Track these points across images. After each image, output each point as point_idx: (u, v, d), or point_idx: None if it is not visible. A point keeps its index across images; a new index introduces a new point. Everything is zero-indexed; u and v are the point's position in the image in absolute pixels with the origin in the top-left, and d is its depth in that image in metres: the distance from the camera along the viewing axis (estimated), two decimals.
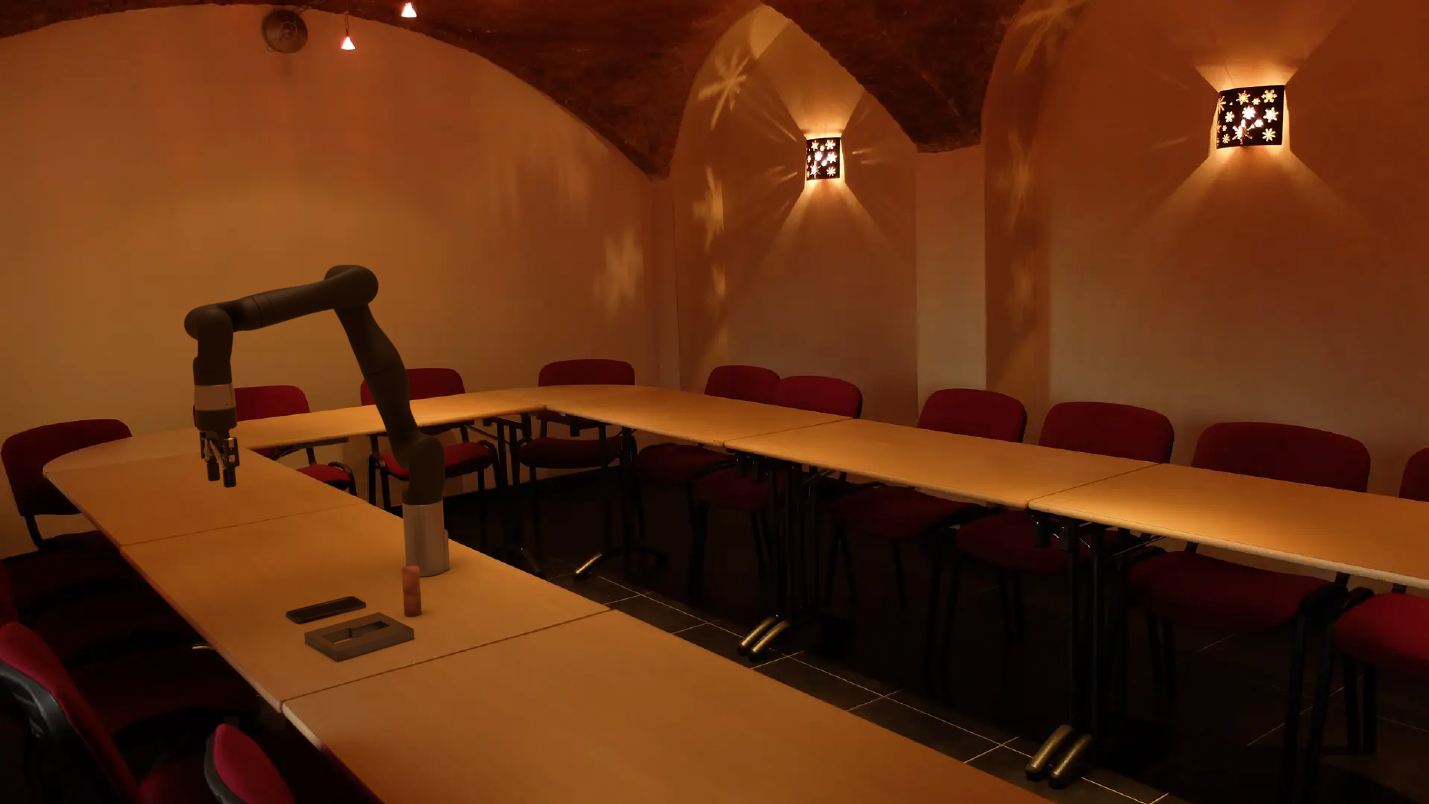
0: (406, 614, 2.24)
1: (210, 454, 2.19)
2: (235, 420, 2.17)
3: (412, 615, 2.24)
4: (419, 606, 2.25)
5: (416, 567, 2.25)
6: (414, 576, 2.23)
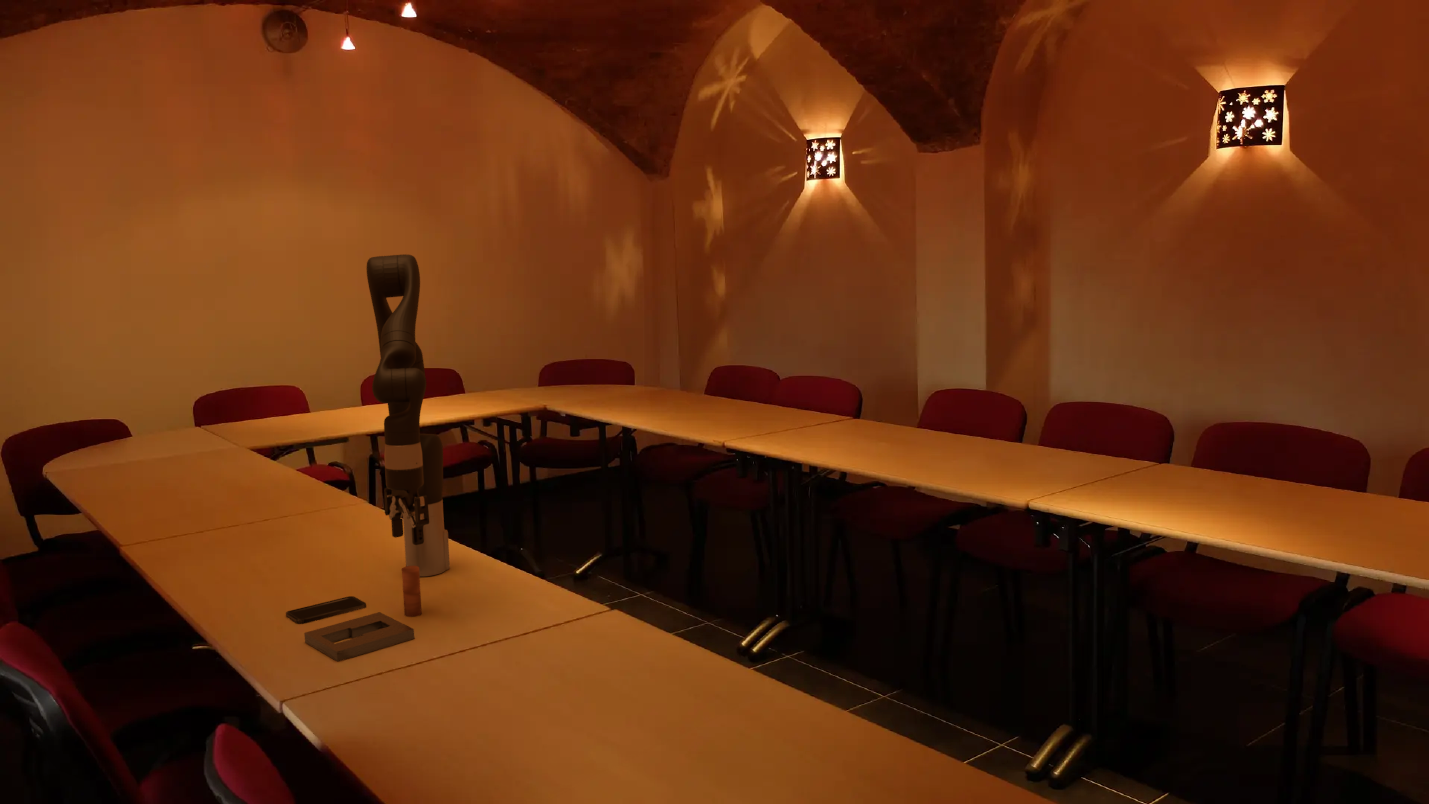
0: (406, 614, 2.24)
1: (396, 511, 2.24)
2: (422, 478, 2.22)
3: (412, 615, 2.24)
4: (419, 606, 2.25)
5: (416, 567, 2.25)
6: (414, 576, 2.23)
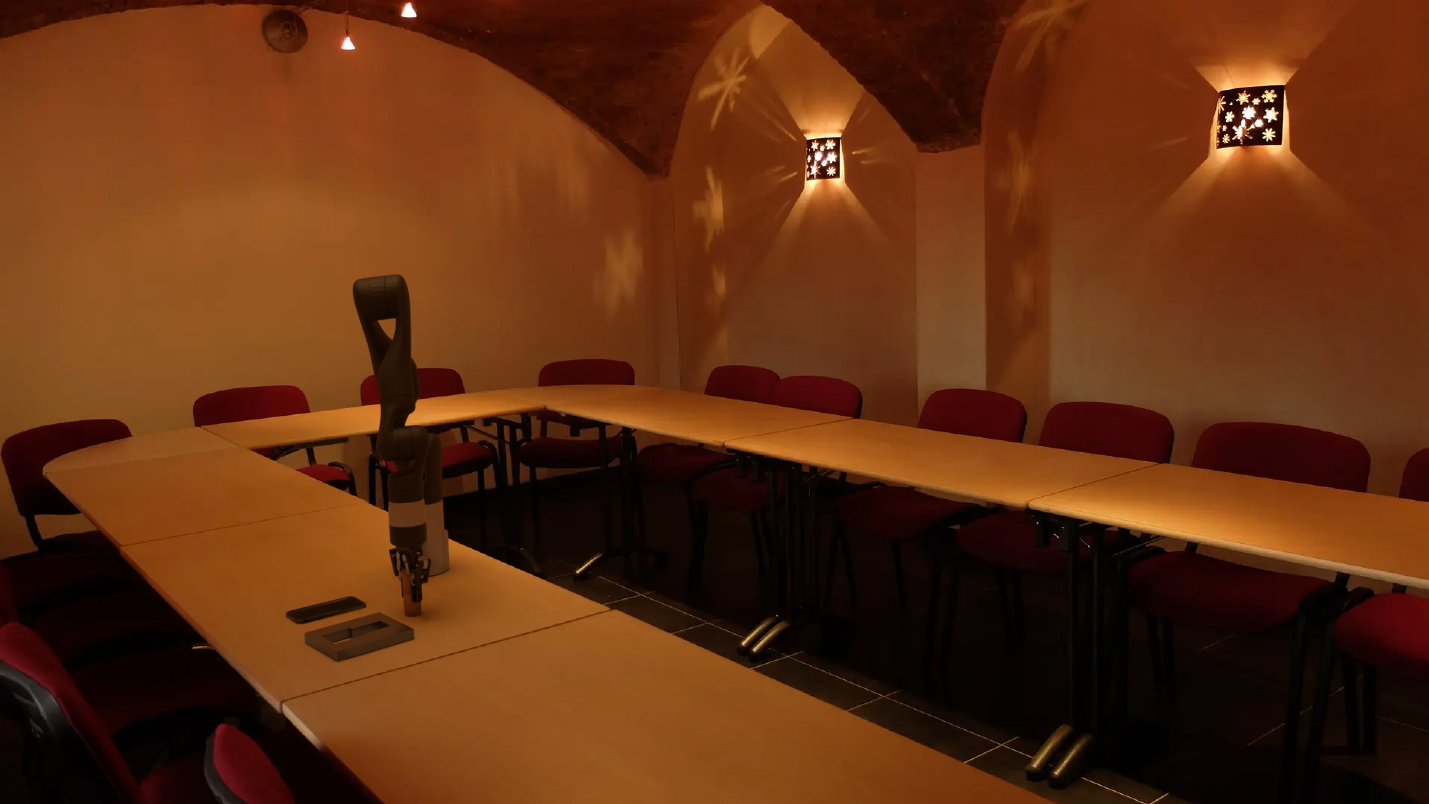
0: (406, 614, 2.24)
1: None
2: (426, 534, 2.24)
3: (412, 615, 2.24)
4: (419, 606, 2.25)
5: None
6: (414, 576, 2.23)
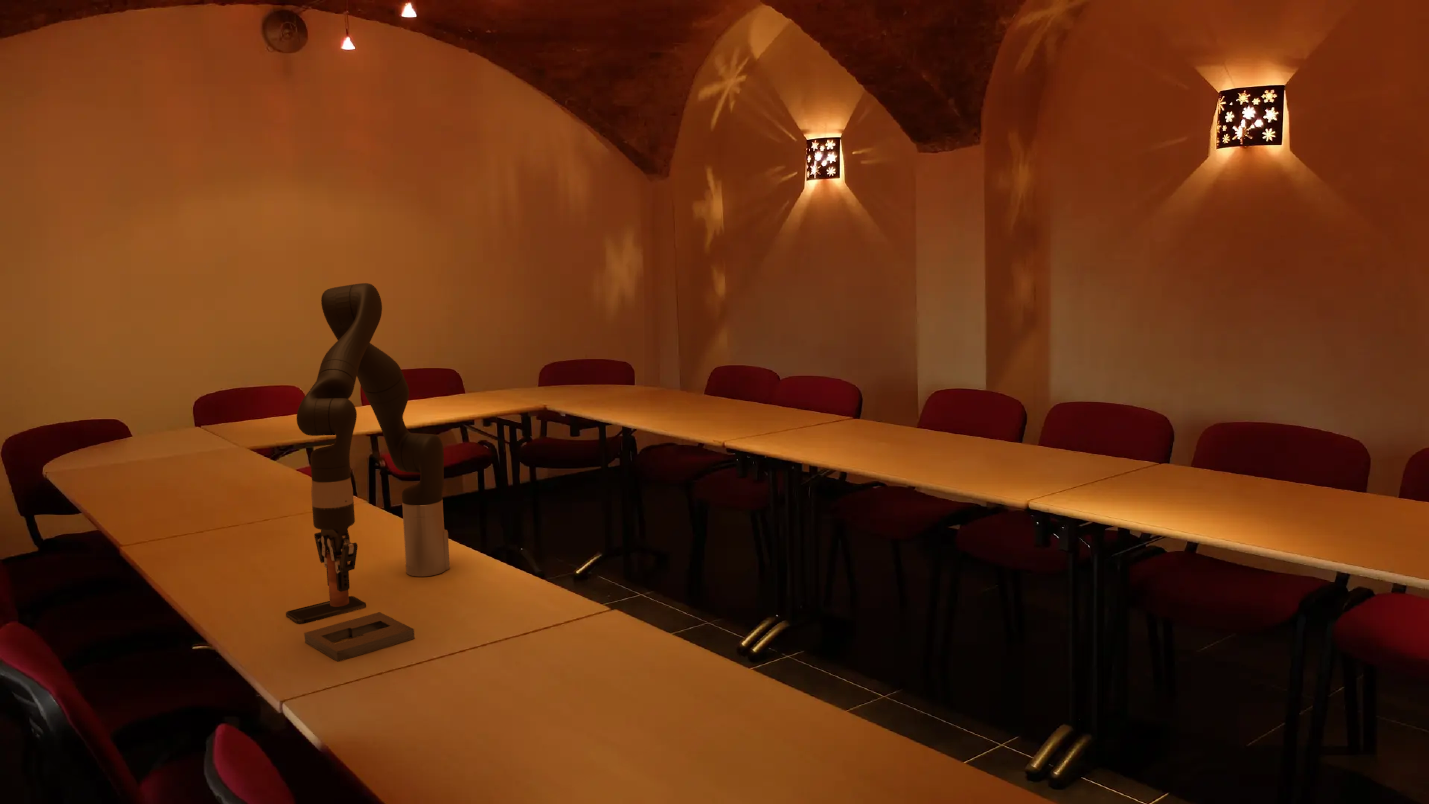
0: (332, 603, 2.06)
1: None
2: (353, 516, 2.05)
3: (338, 605, 2.06)
4: (346, 595, 2.07)
5: None
6: None
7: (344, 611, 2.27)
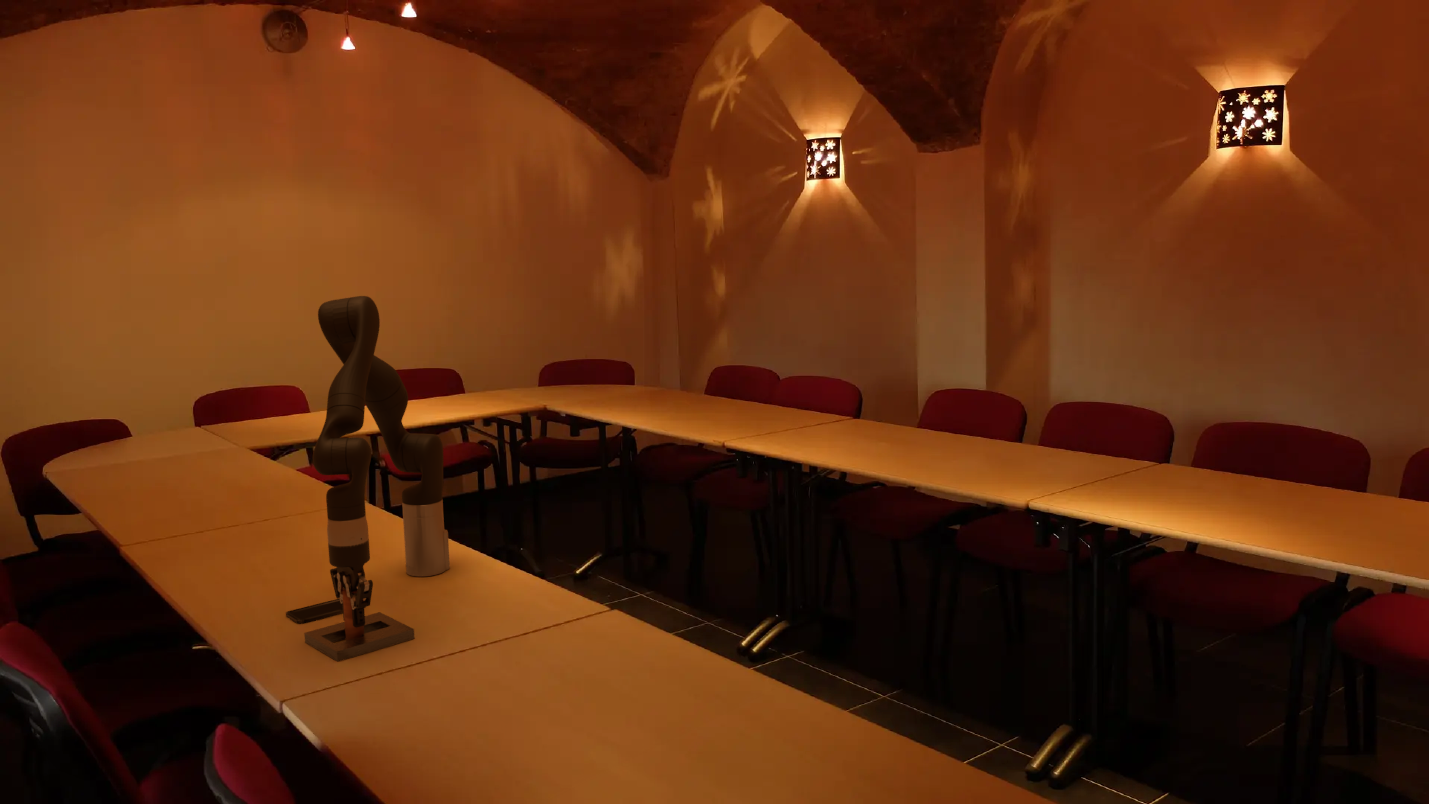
0: (348, 639, 2.09)
1: None
2: (368, 553, 2.08)
3: None
4: (361, 630, 2.10)
5: None
6: (355, 598, 2.08)
7: None
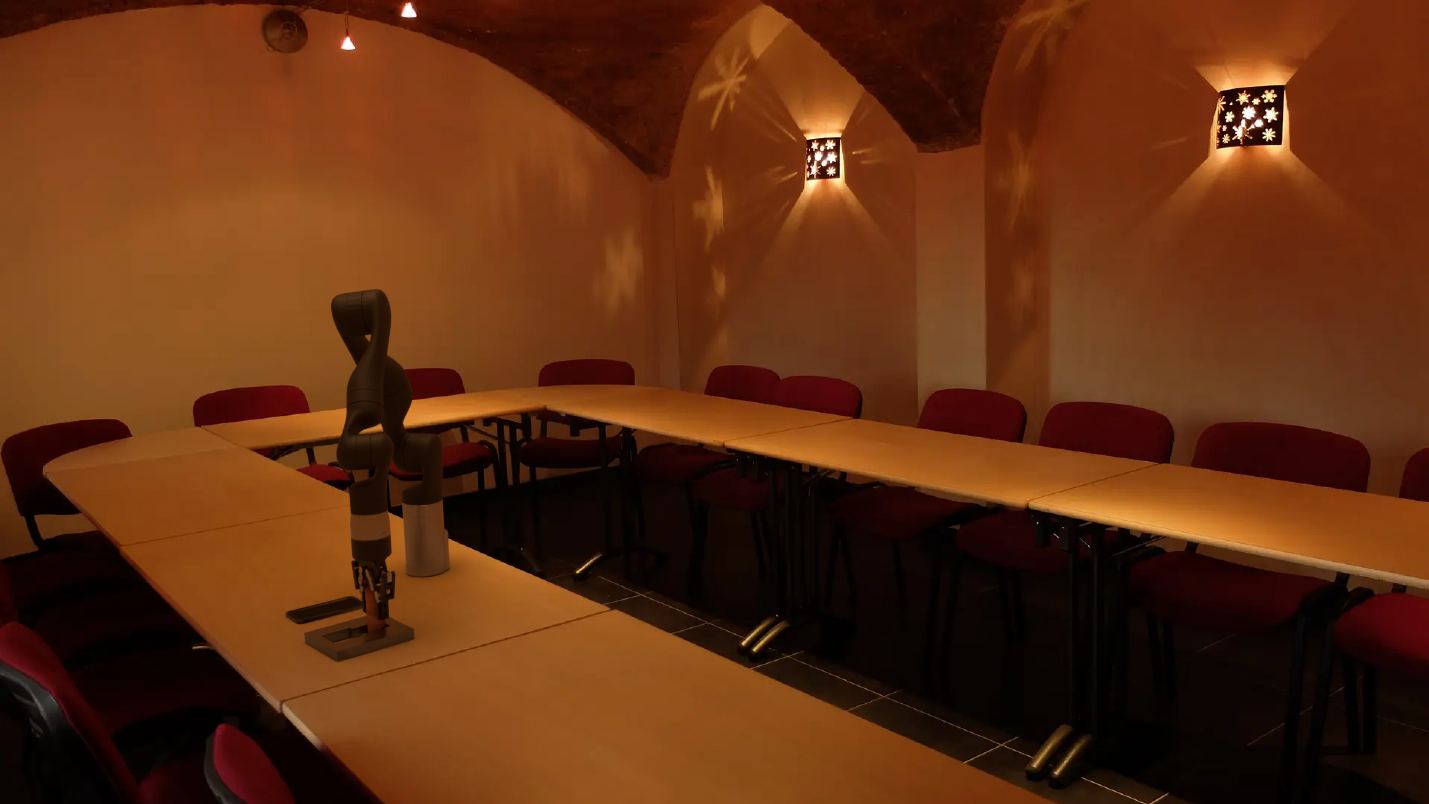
0: None
1: (365, 583, 2.13)
2: (390, 548, 2.11)
3: None
4: (383, 627, 2.13)
5: None
6: None
7: (344, 611, 2.27)
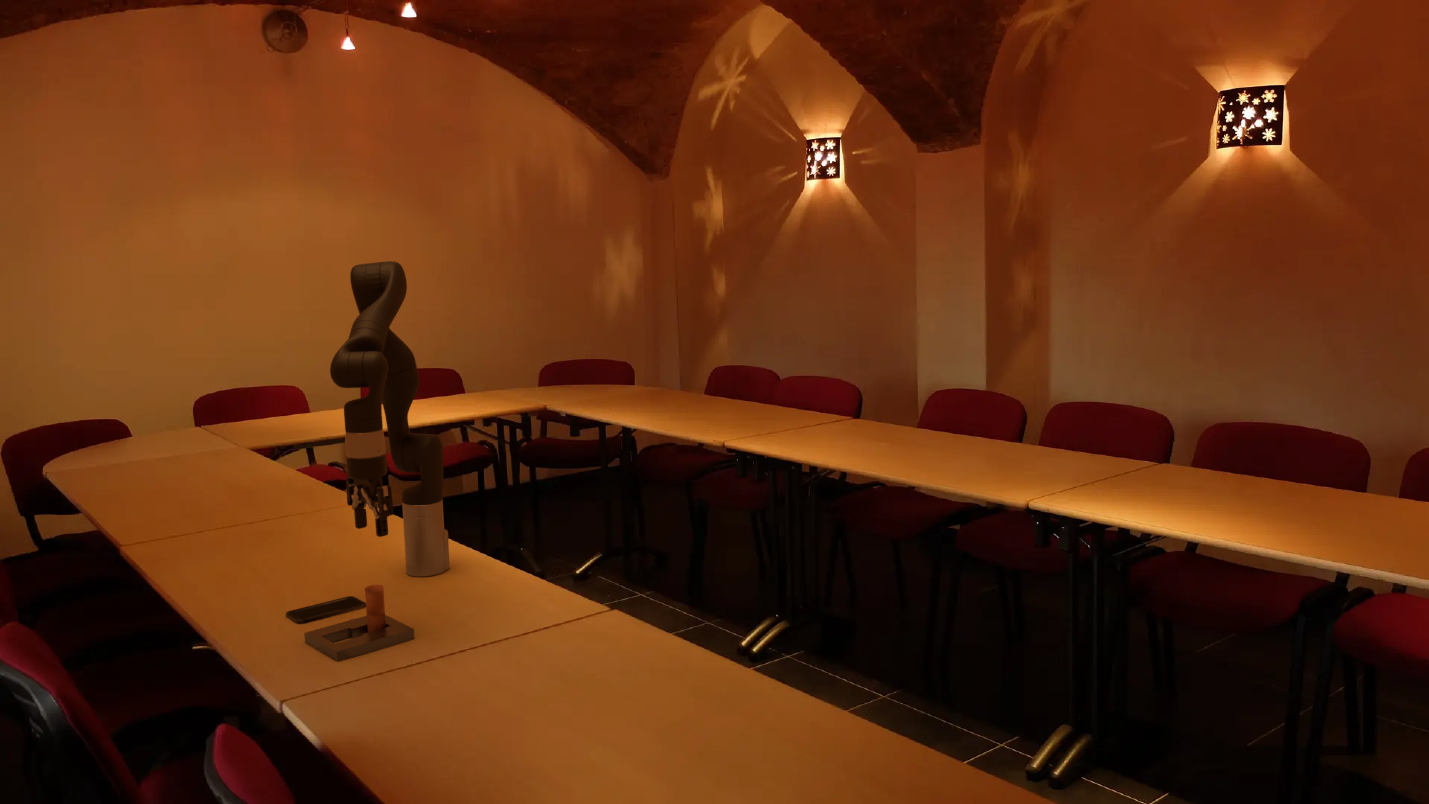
0: None
1: (358, 501, 2.13)
2: (386, 467, 2.11)
3: None
4: (383, 627, 2.13)
5: (380, 586, 2.13)
6: (377, 596, 2.11)
7: (344, 611, 2.27)
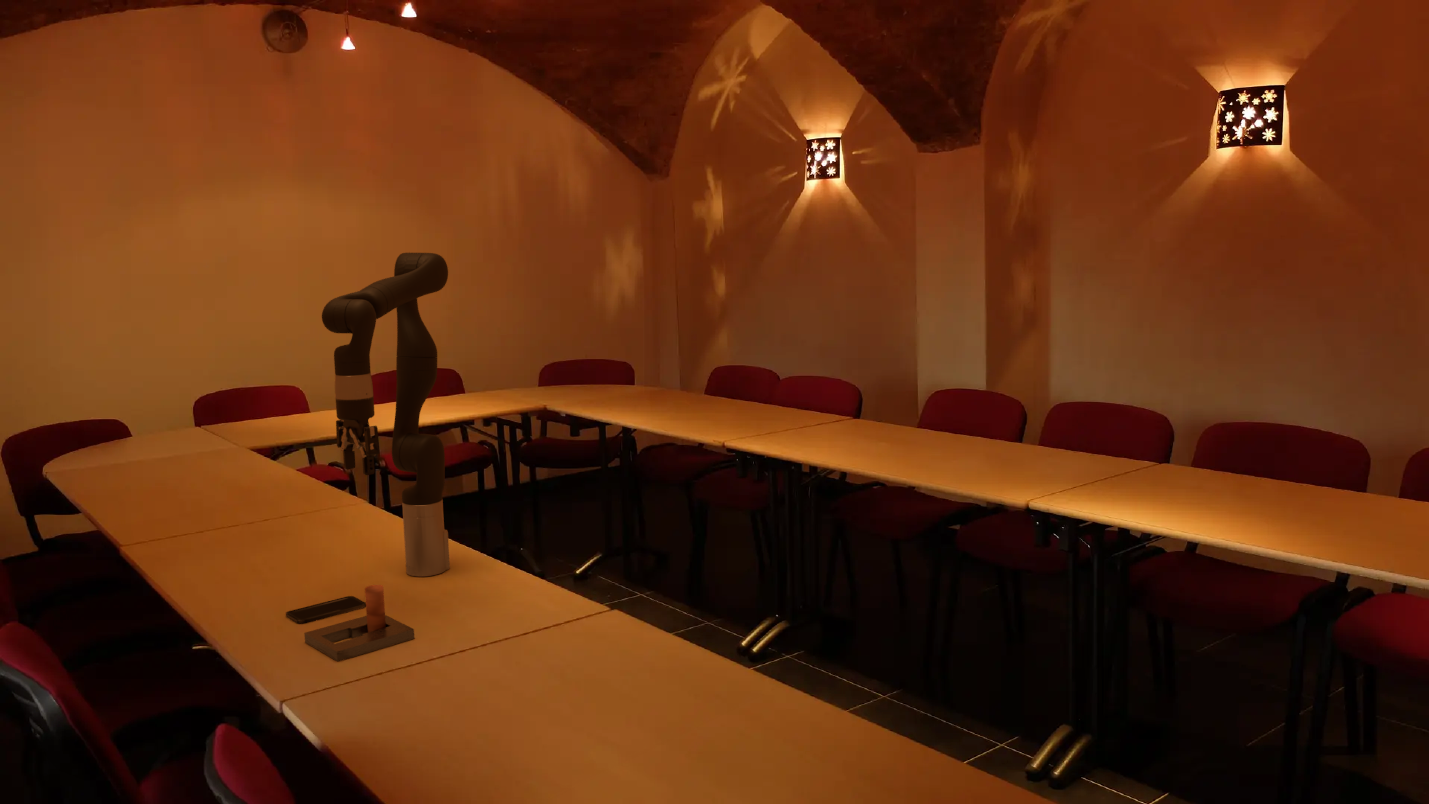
0: None
1: (347, 443, 2.25)
2: (373, 409, 2.23)
3: None
4: (383, 627, 2.13)
5: (380, 586, 2.13)
6: (378, 596, 2.11)
7: (344, 611, 2.27)
